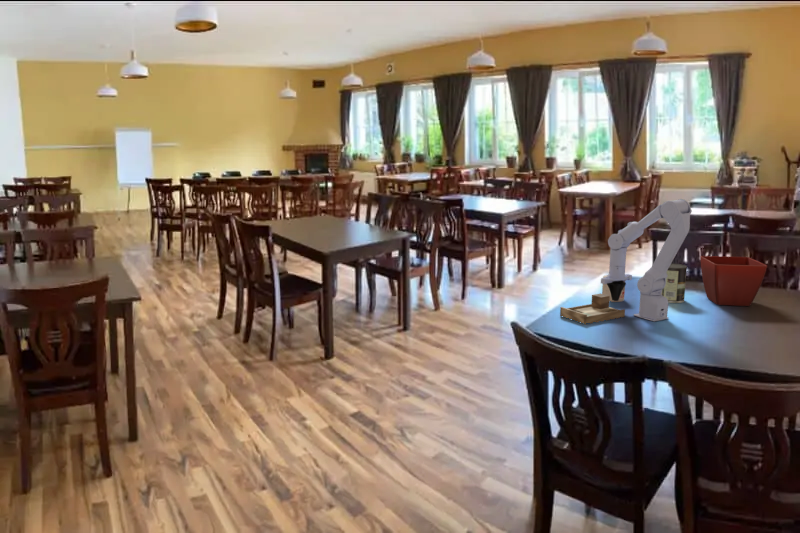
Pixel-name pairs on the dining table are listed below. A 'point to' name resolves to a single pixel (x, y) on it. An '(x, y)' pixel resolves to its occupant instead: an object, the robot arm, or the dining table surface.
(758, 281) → the plant pot
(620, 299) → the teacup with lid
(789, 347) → the dining table surface
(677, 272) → the coffee can
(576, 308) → the board
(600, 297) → the walnut block
